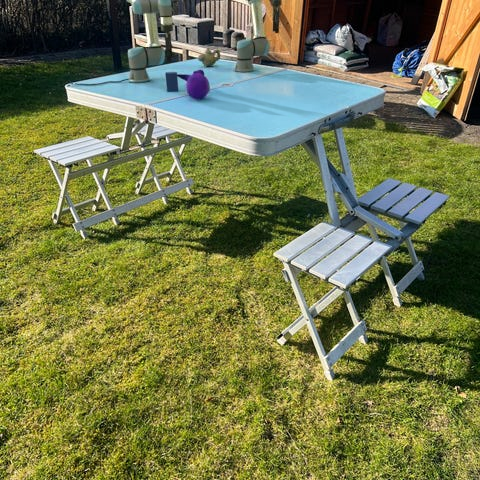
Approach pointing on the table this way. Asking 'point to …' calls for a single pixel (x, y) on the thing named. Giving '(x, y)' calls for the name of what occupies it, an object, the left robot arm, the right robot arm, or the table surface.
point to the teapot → (209, 57)
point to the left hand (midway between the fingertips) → (169, 59)
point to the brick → (171, 81)
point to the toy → (196, 84)
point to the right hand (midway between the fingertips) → (275, 32)
